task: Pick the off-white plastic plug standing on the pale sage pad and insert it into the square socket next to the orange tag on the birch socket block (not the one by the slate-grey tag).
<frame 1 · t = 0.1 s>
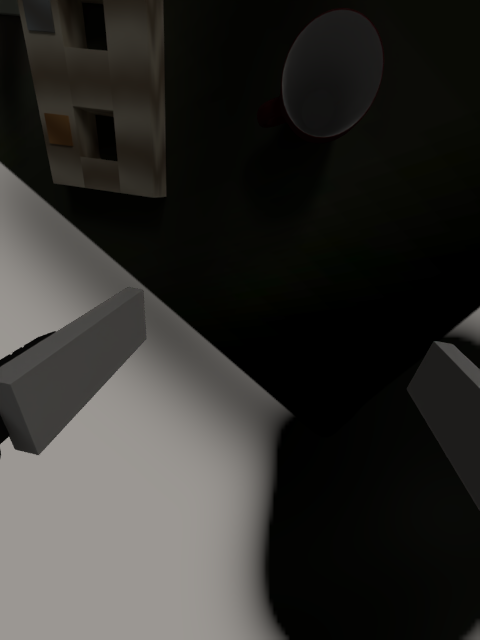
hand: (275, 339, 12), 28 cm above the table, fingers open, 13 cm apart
socket block: (111, 91, 32), on the table
mug: (306, 116, 30), on the table
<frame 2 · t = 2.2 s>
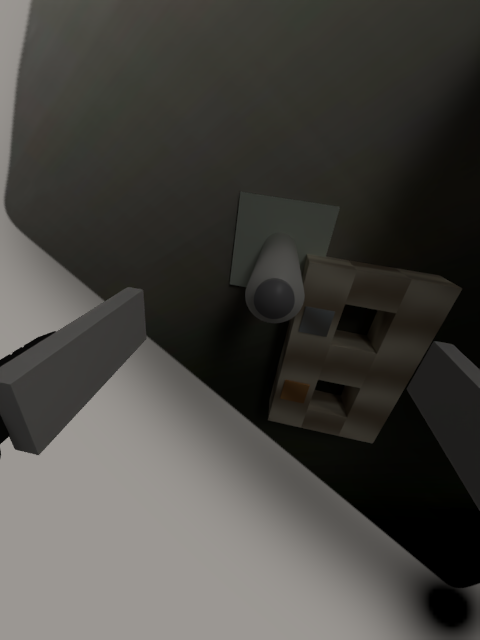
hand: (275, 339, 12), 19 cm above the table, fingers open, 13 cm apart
pad: (279, 248, 28), on the table
socket block: (339, 348, 33), on the table
plug: (279, 249, 28), resting on pad
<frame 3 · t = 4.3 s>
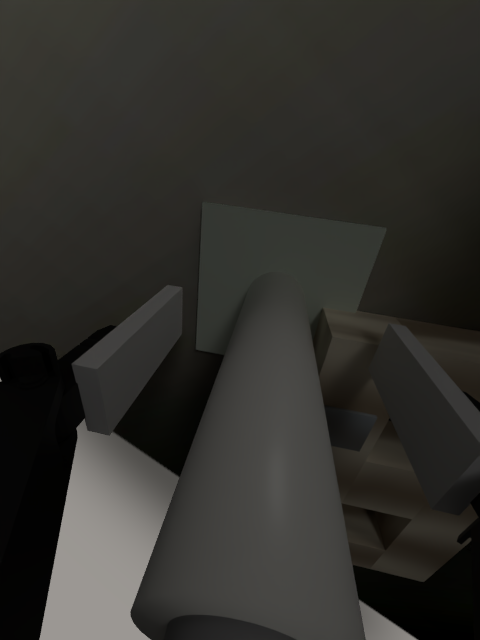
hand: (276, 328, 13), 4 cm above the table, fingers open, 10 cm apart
pad: (275, 296, 17), on the table
socket block: (372, 440, 21), on the table
plug: (275, 299, 16), resting on pad
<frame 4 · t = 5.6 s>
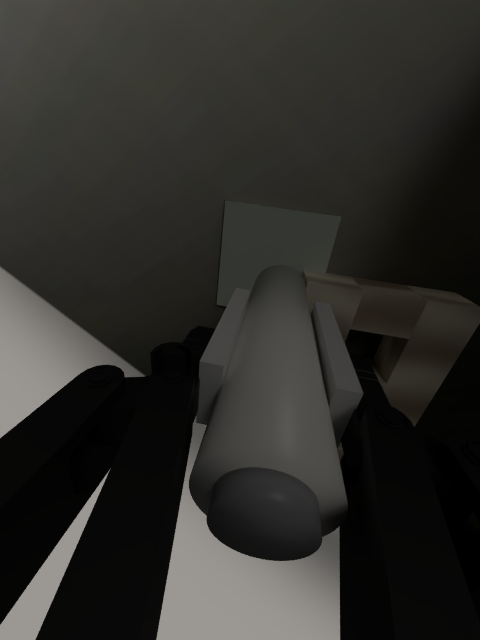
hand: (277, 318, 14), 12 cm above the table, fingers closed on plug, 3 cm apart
pad: (272, 264, 25), on the table
socket block: (342, 373, 29), on the table
plug: (279, 289, 18), point 7 cm above the table, touching gripper
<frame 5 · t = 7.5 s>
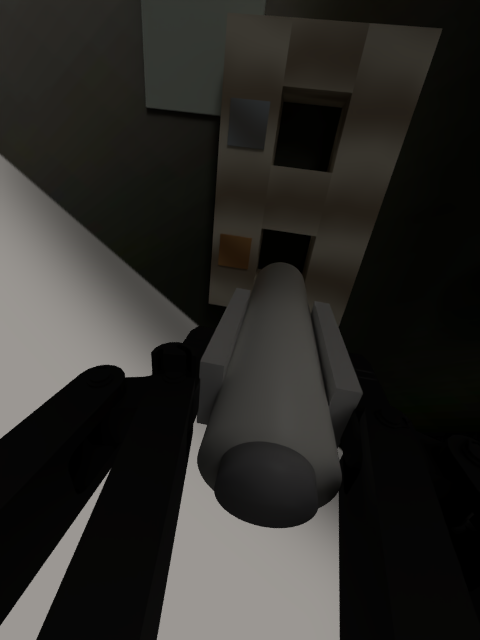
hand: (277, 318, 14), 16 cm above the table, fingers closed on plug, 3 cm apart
pad: (201, 38, 21), on the table
socket block: (293, 200, 26), on the table
plug: (279, 286, 19), point 11 cm above the table, touching gripper
when the fingers open (6 cm above the table, at t = 9.8 s): plug stays where it is, resting in socket block.
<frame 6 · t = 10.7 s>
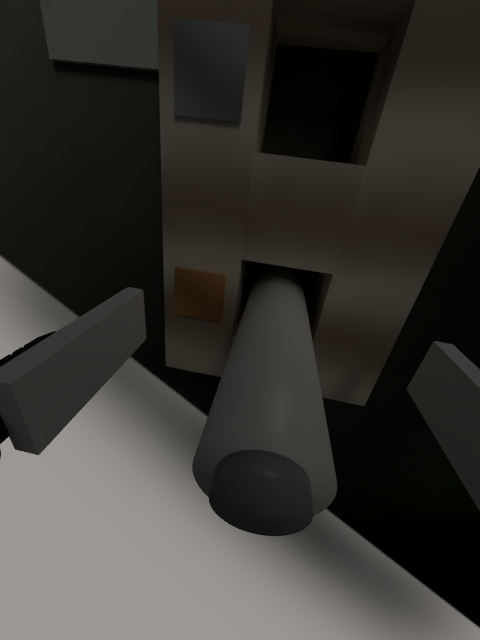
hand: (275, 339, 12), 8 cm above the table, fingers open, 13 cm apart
socket block: (294, 211, 16), on the table
plug: (277, 288, 19), resting in socket block
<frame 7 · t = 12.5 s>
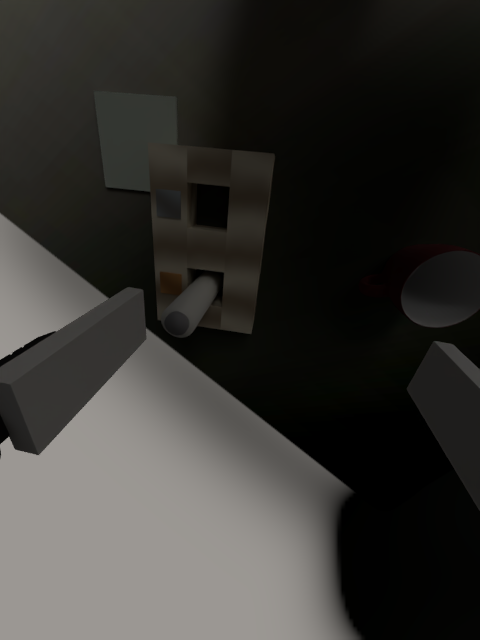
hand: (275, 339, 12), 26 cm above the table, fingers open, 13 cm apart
pad: (139, 146, 32), on the table
socket block: (213, 245, 36), on the table
mug: (391, 269, 34), on the table
plug: (211, 281, 39), resting in socket block
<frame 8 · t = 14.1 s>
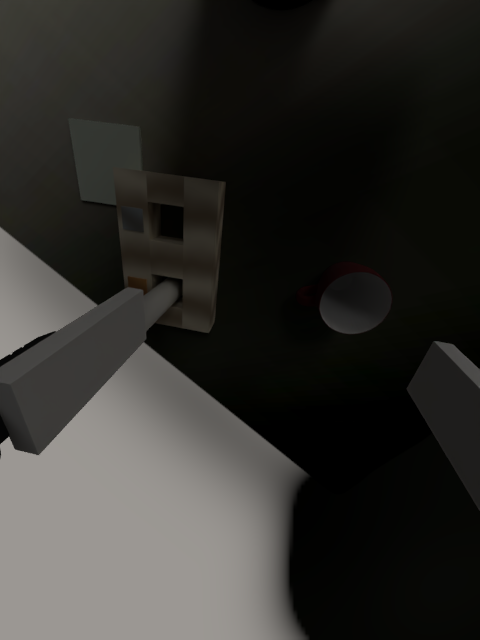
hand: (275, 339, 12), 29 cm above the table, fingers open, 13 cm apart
pad: (109, 166, 37), on the table
socket block: (176, 253, 41), on the table
mug: (330, 280, 39), on the table
plug: (176, 284, 43), resting in socket block
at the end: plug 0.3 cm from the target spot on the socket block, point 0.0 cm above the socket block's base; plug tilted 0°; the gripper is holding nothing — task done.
